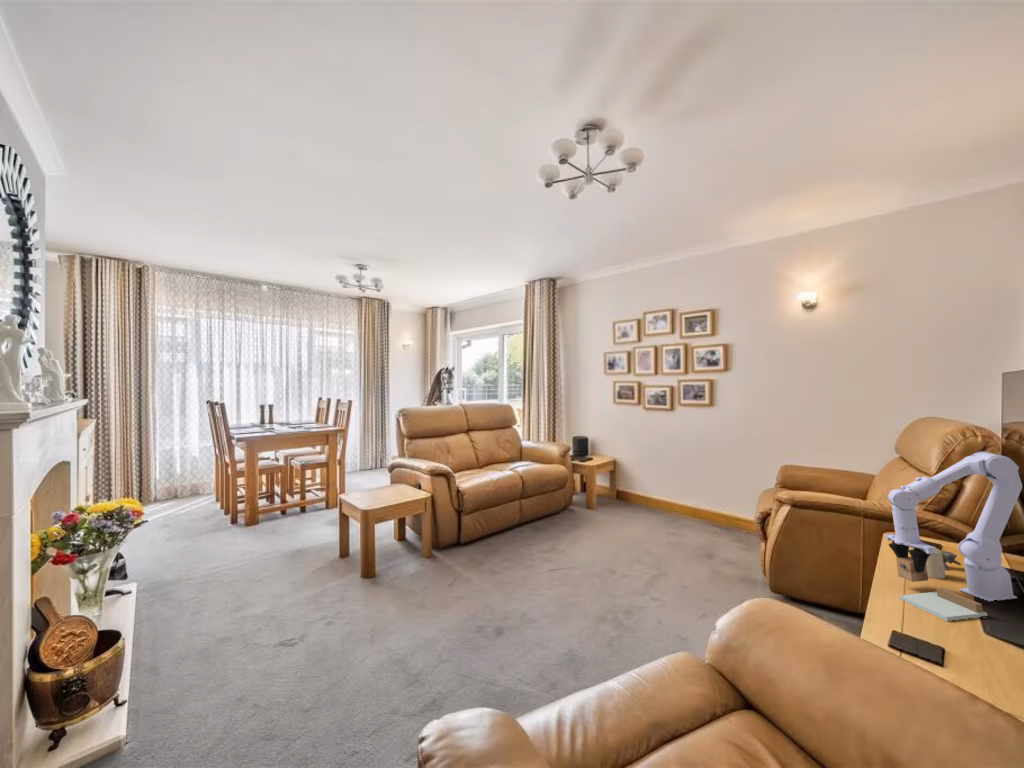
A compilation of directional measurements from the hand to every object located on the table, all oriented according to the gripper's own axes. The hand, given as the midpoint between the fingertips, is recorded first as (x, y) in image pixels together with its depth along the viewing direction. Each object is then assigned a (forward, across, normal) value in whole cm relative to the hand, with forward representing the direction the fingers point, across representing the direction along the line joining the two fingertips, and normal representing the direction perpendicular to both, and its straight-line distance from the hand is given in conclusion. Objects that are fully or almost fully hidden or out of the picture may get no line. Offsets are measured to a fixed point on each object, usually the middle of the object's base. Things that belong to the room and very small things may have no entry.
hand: (912, 568), depth 136 cm
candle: (+7, -7, +14) cm, 17 cm away
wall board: (+6, +12, -5) cm, 15 cm away
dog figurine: (+7, -13, +22) cm, 27 cm away
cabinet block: (+3, 0, 0) cm, 3 cm away
